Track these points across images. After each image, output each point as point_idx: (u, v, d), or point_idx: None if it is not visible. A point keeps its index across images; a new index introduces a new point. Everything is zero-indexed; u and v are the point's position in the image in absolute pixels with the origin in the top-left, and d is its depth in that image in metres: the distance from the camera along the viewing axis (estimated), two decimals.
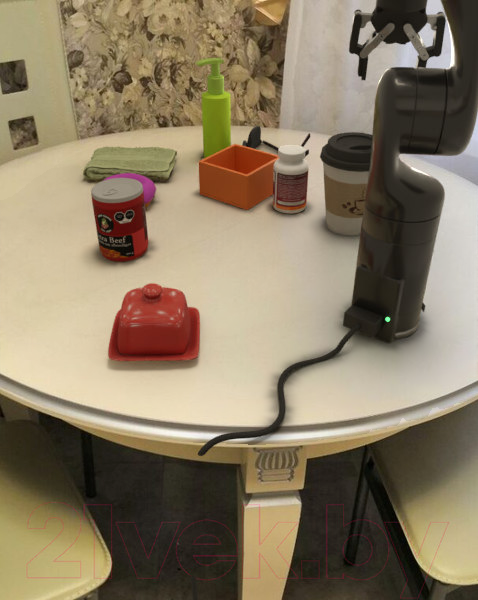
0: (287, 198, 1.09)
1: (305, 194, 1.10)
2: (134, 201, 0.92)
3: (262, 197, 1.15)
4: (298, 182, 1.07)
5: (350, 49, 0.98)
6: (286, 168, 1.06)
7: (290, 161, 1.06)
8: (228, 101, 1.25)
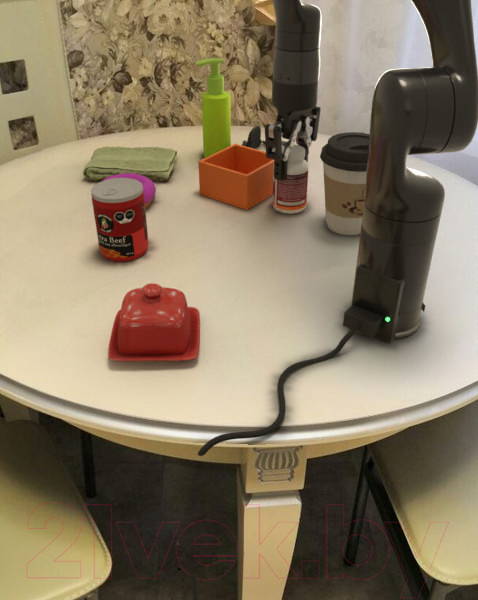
0: (287, 198, 1.09)
1: (305, 194, 1.10)
2: (134, 201, 0.92)
3: (262, 197, 1.15)
4: (297, 182, 1.07)
5: (278, 157, 1.02)
6: None
7: (290, 161, 1.06)
8: (228, 101, 1.25)
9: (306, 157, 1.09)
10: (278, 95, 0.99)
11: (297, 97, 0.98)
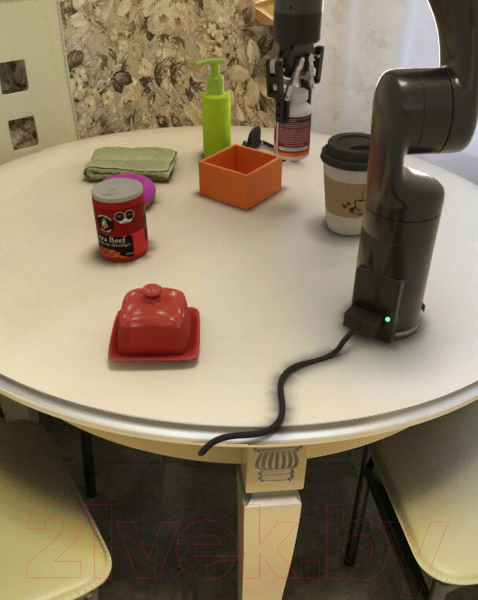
0: (289, 143, 1.03)
1: (308, 140, 1.04)
2: (134, 201, 0.92)
3: (262, 197, 1.15)
4: (300, 125, 1.01)
5: (280, 95, 0.96)
6: None
7: (292, 102, 1.00)
8: (228, 101, 1.25)
9: (309, 100, 1.04)
10: (280, 27, 0.93)
11: (300, 29, 0.92)
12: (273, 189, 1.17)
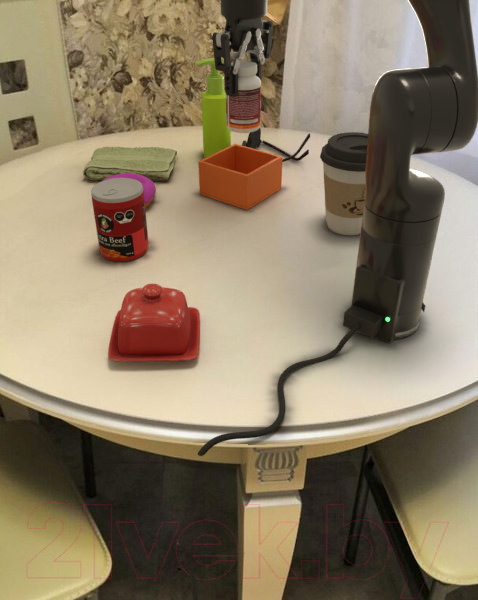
0: (239, 116, 1.06)
1: (258, 112, 1.08)
2: (134, 201, 0.92)
3: (262, 197, 1.15)
4: (249, 98, 1.05)
5: (227, 68, 0.99)
6: None
7: (241, 76, 1.03)
8: None
9: (259, 75, 1.07)
10: (225, 2, 0.97)
11: (244, 4, 0.96)
12: (273, 189, 1.17)
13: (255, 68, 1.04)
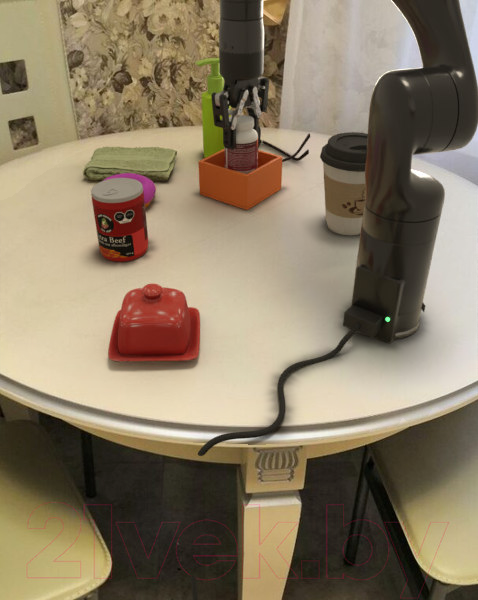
0: (237, 167, 1.12)
1: (255, 163, 1.13)
2: (134, 201, 0.92)
3: (262, 197, 1.15)
4: (247, 150, 1.10)
5: (226, 125, 1.05)
6: None
7: (239, 130, 1.09)
8: None
9: (256, 127, 1.13)
10: (224, 64, 1.02)
11: (241, 66, 1.01)
12: (273, 189, 1.17)
13: (252, 123, 1.09)
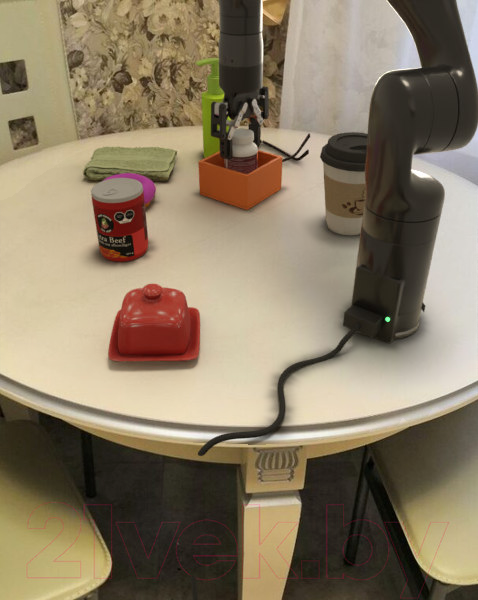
0: None
1: None
2: (134, 201, 0.92)
3: (262, 197, 1.15)
4: (246, 164, 1.12)
5: (222, 136, 1.05)
6: (235, 150, 1.11)
7: (239, 144, 1.10)
8: None
9: (258, 134, 1.15)
10: (223, 77, 1.04)
11: (241, 80, 1.03)
12: (273, 189, 1.17)
13: (252, 136, 1.11)
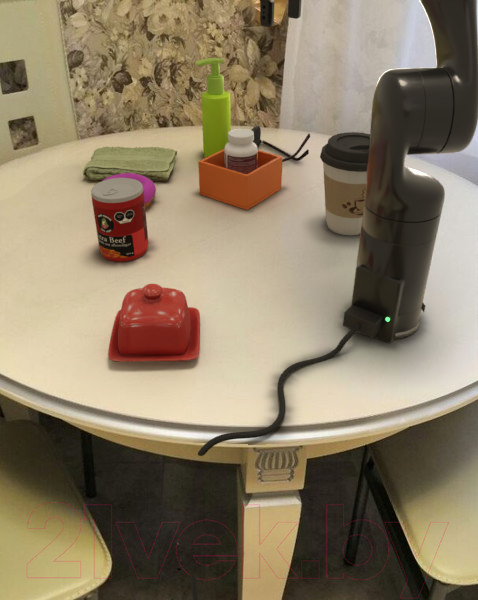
0: None
1: None
2: (134, 201, 0.92)
3: (262, 197, 1.15)
4: (246, 164, 1.12)
5: None
6: (235, 150, 1.11)
7: (239, 144, 1.10)
8: (228, 101, 1.25)
9: (299, 5, 1.06)
10: None
11: None
12: (273, 189, 1.17)
13: (252, 136, 1.11)
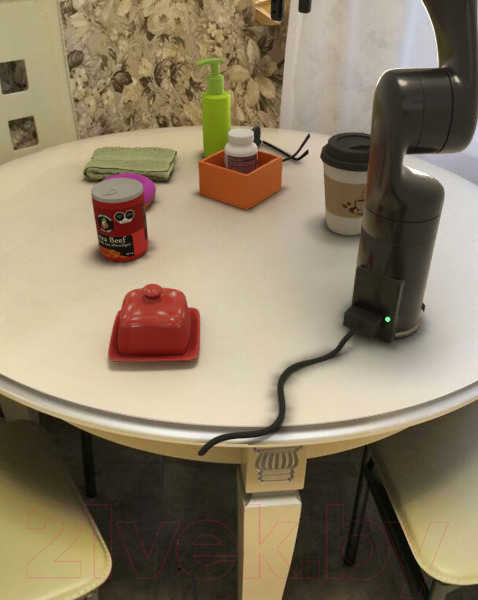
0: None
1: None
2: (134, 201, 0.92)
3: (262, 197, 1.15)
4: (246, 164, 1.12)
5: None
6: (235, 150, 1.11)
7: (239, 144, 1.10)
8: (228, 101, 1.25)
9: (310, 0, 1.06)
10: None
11: None
12: (273, 189, 1.17)
13: (252, 136, 1.11)
